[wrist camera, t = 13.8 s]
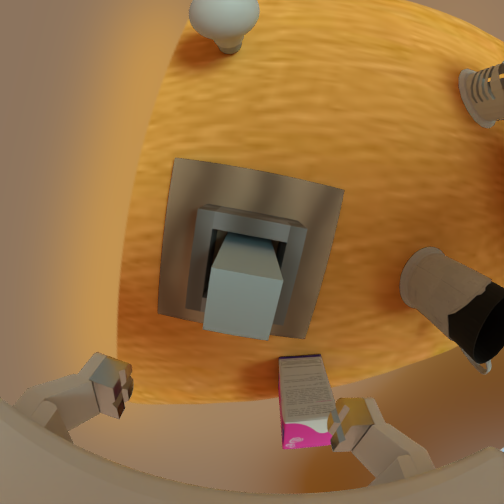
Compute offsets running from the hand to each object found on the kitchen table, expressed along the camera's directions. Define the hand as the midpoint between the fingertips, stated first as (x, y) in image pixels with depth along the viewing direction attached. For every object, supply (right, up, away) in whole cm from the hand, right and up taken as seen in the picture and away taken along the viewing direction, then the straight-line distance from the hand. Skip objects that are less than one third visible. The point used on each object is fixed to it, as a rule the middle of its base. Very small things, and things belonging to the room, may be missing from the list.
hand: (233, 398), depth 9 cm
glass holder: (+25, 0, +22) cm, 34 cm away
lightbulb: (-2, +28, +15) cm, 32 cm away
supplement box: (+7, -11, +25) cm, 28 cm away
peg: (0, +5, +20) cm, 20 cm away
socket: (0, +5, +21) cm, 21 cm away
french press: (+35, +29, +15) cm, 48 cm away
